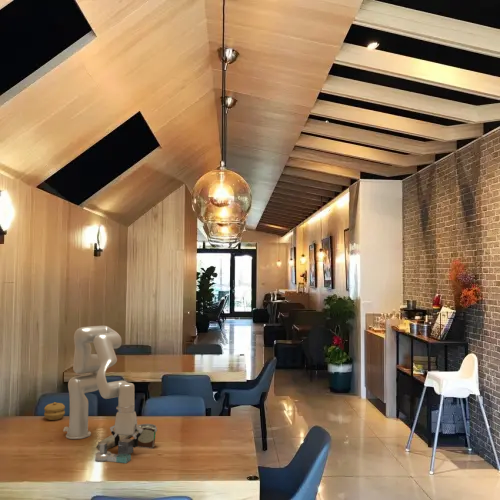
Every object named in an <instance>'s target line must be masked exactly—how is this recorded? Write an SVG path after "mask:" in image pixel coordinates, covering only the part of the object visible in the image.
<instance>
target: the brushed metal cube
mask: <svg viewBox="0 0 500 500" xmlns="http://www.w3.org/2000/svg"><path fill="white" fill-rule="evenodd" d="M133 439H134V438H133ZM133 439H132V438H128V439H125V438H124V439H122V440H120V441H119V442H118V445H117V454H130V455H132V453H134V447H133Z"/></svg>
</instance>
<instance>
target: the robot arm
mask: <svg viewBox="0 0 500 500" xmlns="http://www.w3.org/2000/svg"><path fill="white" fill-rule="evenodd" d="M122 340H123V339H122V336H121V335H120V334H119V333H118V332H117V331H116V330H114V329H112V328H111V327H109V325H108V326H107V325H93V326H91V325H90V326H82V327H79V328H77V329H76V330H75V331H74V334H73V342H74V354H73V361H72V362H73V365H72V366H73V367H72V369H73V372H74V373H75V374H78V375H76V376H73V377H71V378H70V379H69V380H68V382H67V388H68V395H69V417H68V419H69V421H68V424H69V425H68V426H64V428H63V432H67V433H66V434H65V437H66V439H69V440H82V439H86V438H89V437H90V436H91V435H92V432H91V431H90V430H89V399H88V398H87V396H86V395H85V394H87V393H93V392H96V391H98V392H99V395H100V396H101V397H102V398H103V399H105V400H107V399H109V400H110V399H113V398H117V399H118V405H117V406H116V410H117V412H116V414H115V420H114V421H115V422H114V425H112V426H110V427H109V429H110V432H111V435H112V434H113V437H114V438H115V446H114V447H118V442H119V441H120V436H119V435H133V436H132V437H133V449H134V448H136V447H137V446H138V437H139V436H140V435H141V434H142V432H143V428H141V427H140V426H138V425H139V424H138V419H137V418H138V417H137V412H136V411H135V384H134V383H132V382H128V381H126V380H115V381H110V382H108V381H107V377H106V374H107V373H106V372H107V369H109V368H111V367H113V366H114V365H115V364H116V363H117V361H118V358H117V355H116V352H115V350H114V349H116V350H117V349H119V348H120V347H121V346H122ZM91 343H93V345H94V346H93V347H94V350H95V352H96V353H92V345H91ZM137 430H139V433H137ZM137 448H138V447H137Z"/></svg>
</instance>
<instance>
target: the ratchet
mask: <svg viewBox="0 0 500 500" xmlns="http://www.w3.org/2000/svg"><path fill="white" fill-rule="evenodd" d="M131 455H132V454H118V453H112V451H108V449H107V443H101V444H100V450H99V451H98V452H96V453H95V455H94V456H95V457H94V458H95V462H97V463H99V462H100V463H102V462H103V463H104V462H110V463H111V462H112V463H120V464H127V463H129V462H130V461H131V460H132V456H131Z"/></svg>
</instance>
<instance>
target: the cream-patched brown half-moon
mask: <svg viewBox="0 0 500 500" xmlns="http://www.w3.org/2000/svg"><path fill="white" fill-rule="evenodd" d="M137 425H138V426H140V427H141V428H143V432H142V434H141V435H140V436H139V437H138V446H137V448H145V449H152V450H153V449H154V448H155V443H156V436H157V435H156V433H157V431H158V427H157V425H156V424H153V423H140V424H137ZM137 433H139V430H137Z"/></svg>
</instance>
